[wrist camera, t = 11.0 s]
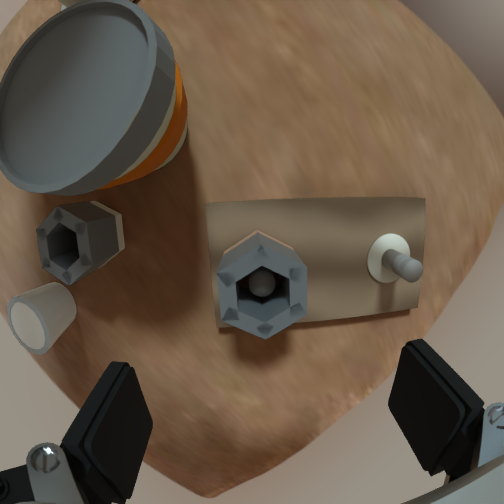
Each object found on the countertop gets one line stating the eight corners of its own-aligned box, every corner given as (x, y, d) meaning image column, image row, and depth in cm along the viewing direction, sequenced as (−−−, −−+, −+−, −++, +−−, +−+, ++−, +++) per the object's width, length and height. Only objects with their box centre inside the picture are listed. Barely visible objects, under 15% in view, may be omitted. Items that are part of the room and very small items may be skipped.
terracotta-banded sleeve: (222, 231, 25) (213, 247, 19) (291, 227, 25) (306, 241, 19) (229, 305, 27) (223, 341, 20) (293, 300, 27) (306, 336, 20)
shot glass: (32, 288, 28) (-2, 307, 21) (62, 268, 28) (26, 286, 21) (57, 334, 30) (28, 360, 23) (90, 319, 29) (60, 347, 22)
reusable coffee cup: (110, 210, 27) (7, 234, 12) (81, 107, 24) (-13, 70, 9) (224, 162, 26) (195, 130, 11) (185, 55, 23) (139, -35, 9)
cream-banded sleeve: (73, 204, 26) (34, 210, 19) (120, 197, 26) (84, 200, 19) (81, 266, 28) (45, 286, 21) (127, 264, 28) (96, 285, 21)
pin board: (207, 203, 27) (195, 207, 20) (417, 197, 27) (454, 201, 20) (218, 321, 29) (211, 354, 23) (411, 302, 29) (441, 326, 23)
